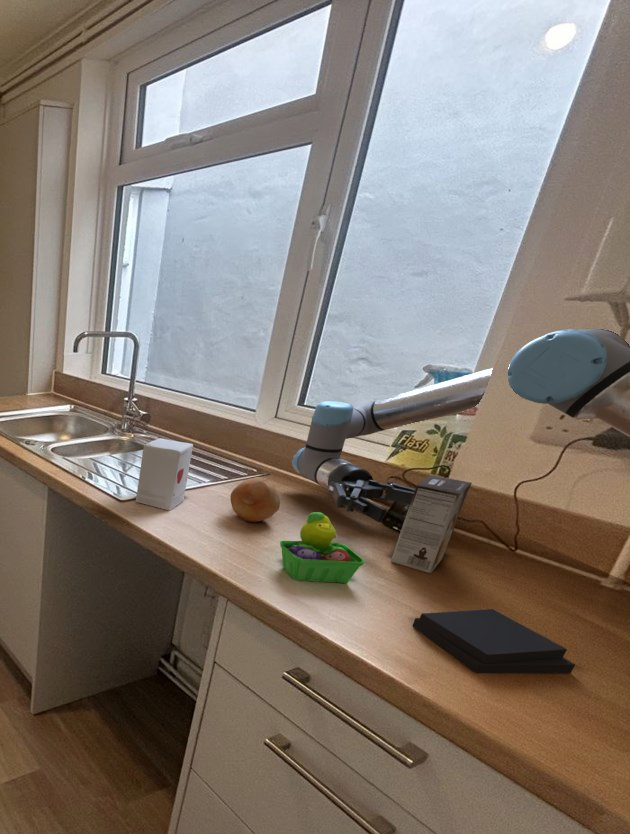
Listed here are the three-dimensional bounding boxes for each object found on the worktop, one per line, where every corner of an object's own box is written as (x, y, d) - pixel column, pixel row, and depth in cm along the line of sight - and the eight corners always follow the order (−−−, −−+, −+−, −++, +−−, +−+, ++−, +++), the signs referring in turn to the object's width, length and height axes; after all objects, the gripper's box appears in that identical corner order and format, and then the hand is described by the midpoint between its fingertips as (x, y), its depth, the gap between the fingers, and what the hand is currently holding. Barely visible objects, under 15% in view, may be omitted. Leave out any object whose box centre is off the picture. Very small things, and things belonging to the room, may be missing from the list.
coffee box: (402, 548, 107) (428, 473, 101) (442, 559, 103) (473, 482, 96) (389, 561, 102) (416, 484, 96) (431, 574, 97) (462, 493, 91)
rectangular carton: (170, 511, 126) (179, 451, 120) (134, 502, 131) (142, 444, 126) (184, 501, 132) (194, 443, 126) (150, 492, 137) (158, 437, 132)
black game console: (494, 624, 83) (501, 608, 81) (570, 673, 72) (580, 655, 71) (408, 624, 83) (414, 608, 82) (472, 673, 72) (480, 655, 71)
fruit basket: (290, 583, 95) (305, 526, 90) (270, 560, 103) (283, 507, 98) (359, 587, 93) (378, 530, 89) (333, 564, 101) (349, 510, 97)
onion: (224, 509, 127) (232, 469, 123) (270, 514, 124) (280, 474, 120) (229, 524, 118) (237, 483, 115) (279, 530, 115) (289, 488, 111)
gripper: (394, 494, 122) (476, 533, 103) (286, 494, 123) (347, 533, 103) (404, 463, 120) (490, 497, 100) (294, 464, 120) (358, 497, 101)
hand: (418, 515), depth 102 cm, fingers open, 13 cm apart
